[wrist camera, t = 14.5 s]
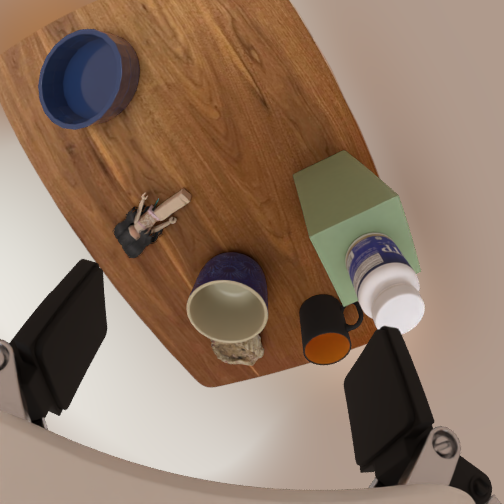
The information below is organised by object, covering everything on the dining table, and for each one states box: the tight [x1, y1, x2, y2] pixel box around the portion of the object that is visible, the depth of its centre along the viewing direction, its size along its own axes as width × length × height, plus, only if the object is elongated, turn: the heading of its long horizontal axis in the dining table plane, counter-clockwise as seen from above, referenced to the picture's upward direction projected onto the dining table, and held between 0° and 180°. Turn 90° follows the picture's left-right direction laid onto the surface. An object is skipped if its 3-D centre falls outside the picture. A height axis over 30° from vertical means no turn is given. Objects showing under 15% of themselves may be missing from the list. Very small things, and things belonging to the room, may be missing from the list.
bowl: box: [38, 29, 140, 130], centre depth 37 cm, size 16×16×6 cm
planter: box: [187, 252, 268, 343], centre depth 51 cm, size 12×12×11 cm
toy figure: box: [114, 188, 192, 258], centre depth 49 cm, size 7×6×15 cm
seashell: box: [211, 335, 264, 366], centre depth 60 cm, size 11×7×10 cm
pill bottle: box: [345, 233, 425, 334], centre depth 24 cm, size 5×5×9 cm
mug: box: [300, 295, 363, 365], centre depth 54 cm, size 8×12×10 cm
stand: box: [293, 150, 421, 307], centre depth 38 cm, size 9×9×22 cm
